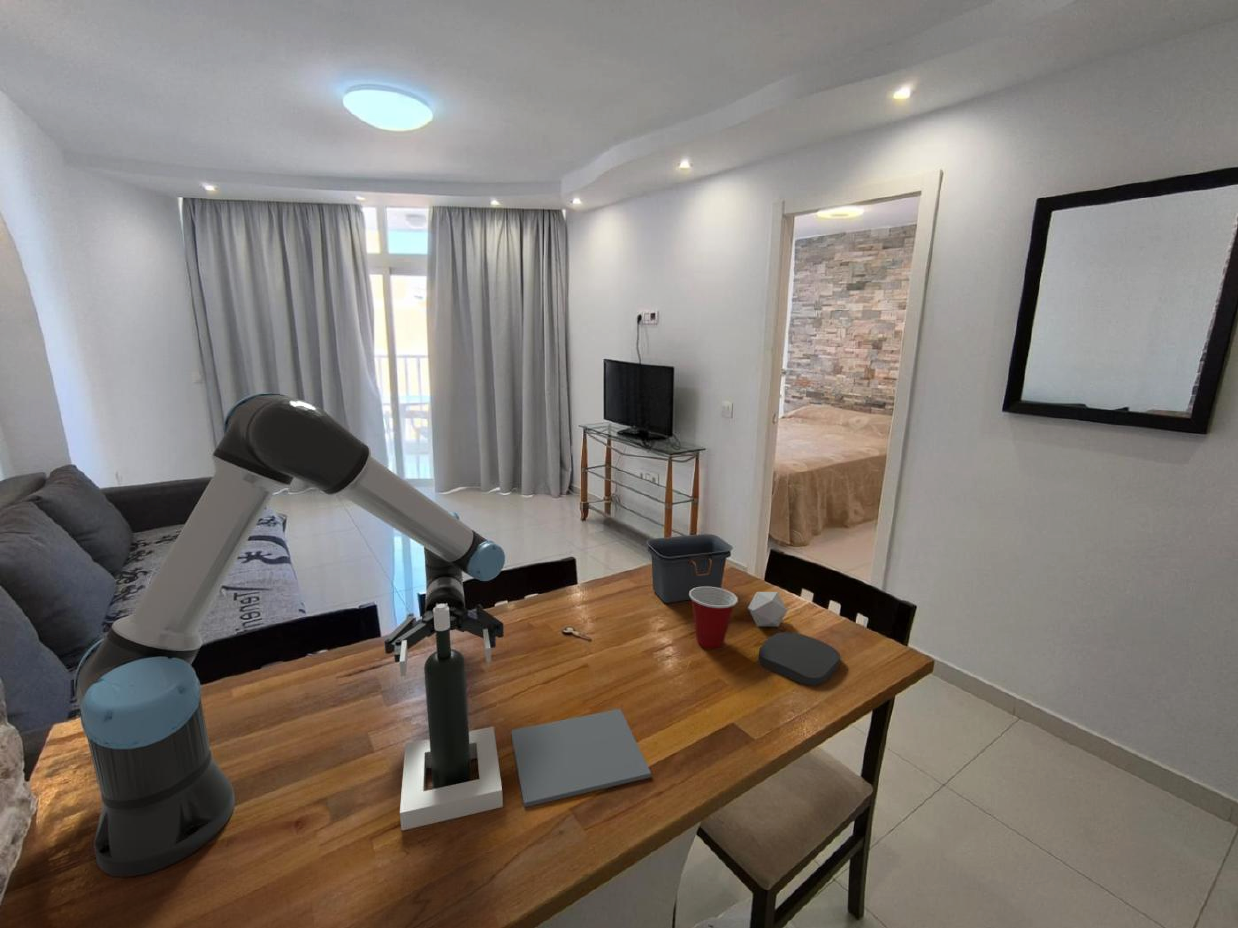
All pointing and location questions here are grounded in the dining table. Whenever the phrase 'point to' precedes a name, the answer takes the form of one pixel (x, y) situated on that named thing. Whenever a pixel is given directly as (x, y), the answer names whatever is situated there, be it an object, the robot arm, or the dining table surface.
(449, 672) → the wine bottle
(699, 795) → the dining table surface
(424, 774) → the frame
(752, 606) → the die
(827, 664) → the media streaming box
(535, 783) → the coaster mat
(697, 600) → the plastic cup
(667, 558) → the storage bin
